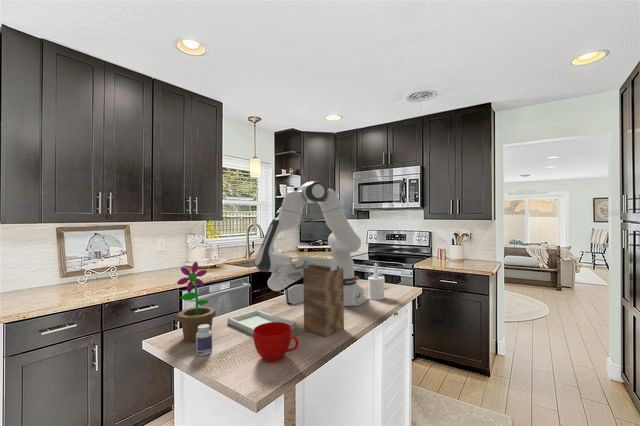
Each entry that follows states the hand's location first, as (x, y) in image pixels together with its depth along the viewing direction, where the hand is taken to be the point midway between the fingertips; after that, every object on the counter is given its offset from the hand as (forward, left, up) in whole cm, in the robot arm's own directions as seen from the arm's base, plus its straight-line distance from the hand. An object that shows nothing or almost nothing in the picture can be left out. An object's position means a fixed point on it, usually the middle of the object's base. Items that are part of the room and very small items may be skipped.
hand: (308, 260), depth 139 cm
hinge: (-22, -31, -29) cm, 48 cm away
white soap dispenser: (-56, -1, -29) cm, 63 cm away
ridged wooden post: (0, +9, -28) cm, 30 cm away
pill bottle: (+45, -8, -29) cm, 54 cm away
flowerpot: (+40, -24, -29) cm, 55 cm away
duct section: (0, +5, -2) cm, 5 cm away
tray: (+16, -14, -28) cm, 36 cm away
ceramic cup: (+30, +15, -29) cm, 44 cm away
